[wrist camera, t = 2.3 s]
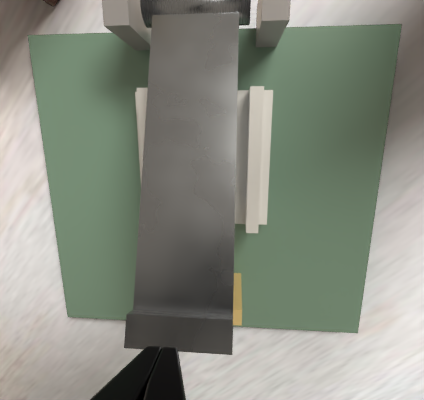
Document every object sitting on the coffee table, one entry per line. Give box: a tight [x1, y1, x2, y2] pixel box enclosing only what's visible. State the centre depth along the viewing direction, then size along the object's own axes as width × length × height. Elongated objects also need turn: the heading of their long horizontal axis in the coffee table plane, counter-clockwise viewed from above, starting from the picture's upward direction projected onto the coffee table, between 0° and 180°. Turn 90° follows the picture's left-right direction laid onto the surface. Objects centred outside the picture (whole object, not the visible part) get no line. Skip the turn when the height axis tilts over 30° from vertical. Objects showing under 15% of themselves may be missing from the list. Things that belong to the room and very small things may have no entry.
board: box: [28, 0, 402, 333], centre depth 18 cm, size 22×21×6 cm
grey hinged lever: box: [124, 0, 251, 355], centre depth 12 cm, size 5×16×2 cm, turn 0°
